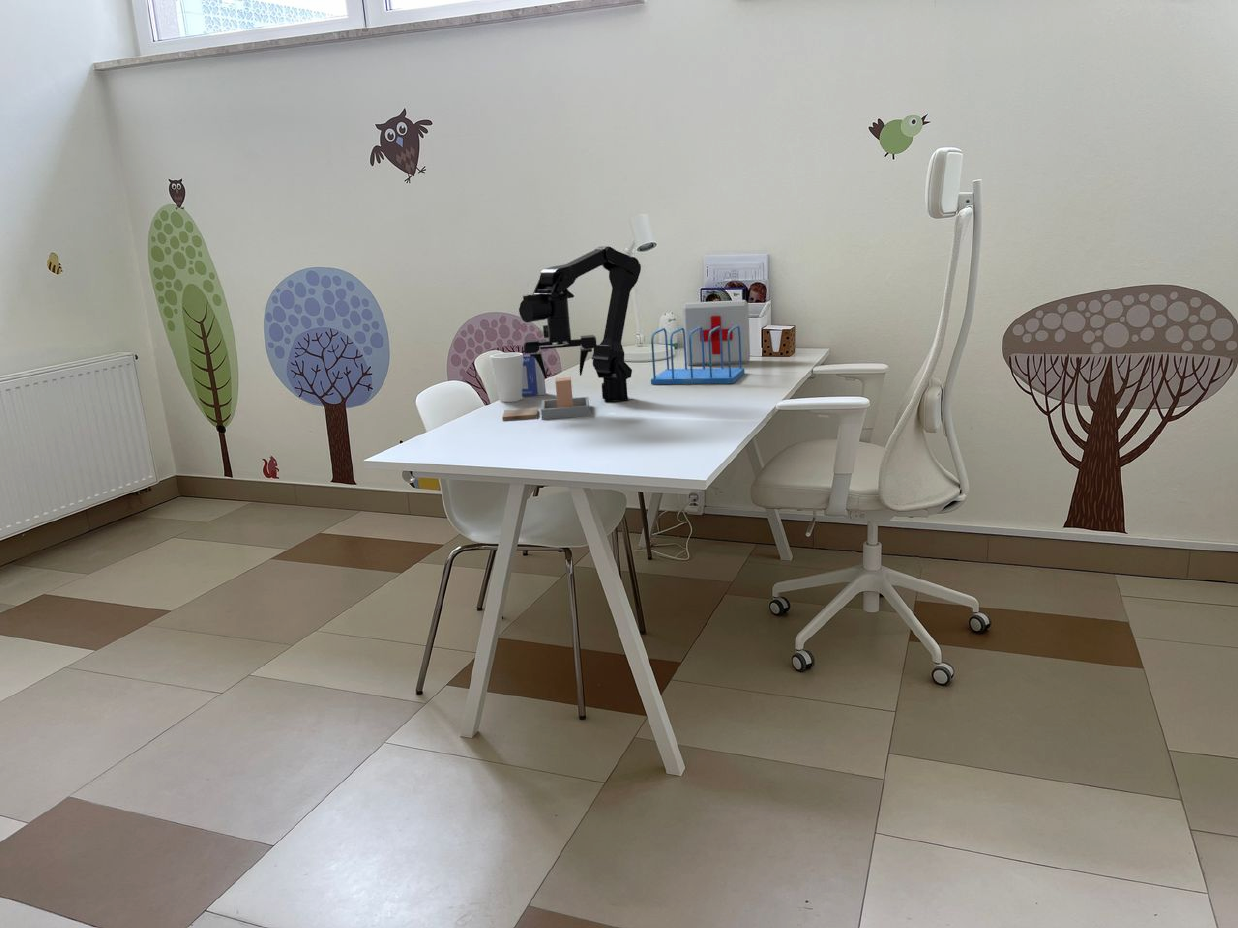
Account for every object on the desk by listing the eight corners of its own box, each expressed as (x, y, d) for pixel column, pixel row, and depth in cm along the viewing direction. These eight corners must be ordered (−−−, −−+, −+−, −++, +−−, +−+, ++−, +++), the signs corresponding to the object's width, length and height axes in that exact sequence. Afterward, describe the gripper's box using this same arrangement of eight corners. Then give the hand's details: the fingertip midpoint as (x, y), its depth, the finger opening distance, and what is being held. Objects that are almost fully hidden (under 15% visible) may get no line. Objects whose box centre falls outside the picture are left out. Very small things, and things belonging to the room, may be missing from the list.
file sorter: (744, 373, 288) (743, 323, 284) (733, 384, 272) (731, 331, 268) (666, 374, 296) (663, 326, 292) (650, 385, 280) (647, 334, 276)
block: (573, 410, 252) (570, 376, 250) (573, 413, 247) (570, 380, 245) (558, 411, 252) (555, 378, 250) (558, 415, 247) (555, 381, 245)
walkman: (518, 396, 276) (514, 355, 273) (520, 394, 279) (516, 354, 276) (544, 395, 275) (541, 354, 272) (546, 393, 278) (542, 353, 275)
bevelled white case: (684, 367, 306) (681, 305, 301) (686, 363, 314) (683, 302, 309) (749, 364, 303) (747, 302, 297) (750, 360, 310) (748, 299, 305)
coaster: (538, 411, 254) (537, 407, 253) (537, 418, 245) (536, 414, 245) (504, 413, 253) (504, 410, 253) (502, 420, 245) (502, 417, 244)
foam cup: (521, 402, 267) (516, 357, 263) (490, 403, 269) (485, 358, 265) (530, 395, 276) (526, 351, 272) (500, 396, 278) (496, 353, 274)
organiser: (589, 405, 256) (588, 396, 255) (590, 415, 244) (589, 405, 243) (542, 409, 255) (542, 400, 255) (541, 419, 243) (540, 409, 243)
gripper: (593, 311, 251) (597, 369, 255) (523, 316, 250) (528, 374, 255) (594, 315, 240) (599, 376, 245) (521, 321, 240) (527, 381, 244)
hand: (563, 376), depth 247 cm, fingers open, 9 cm apart
